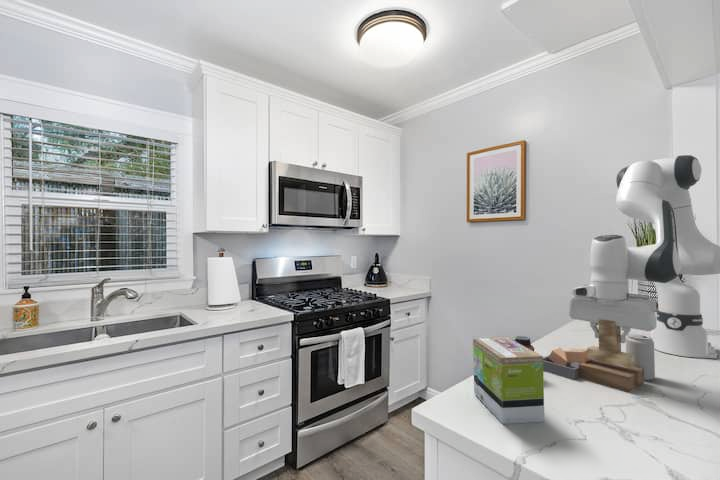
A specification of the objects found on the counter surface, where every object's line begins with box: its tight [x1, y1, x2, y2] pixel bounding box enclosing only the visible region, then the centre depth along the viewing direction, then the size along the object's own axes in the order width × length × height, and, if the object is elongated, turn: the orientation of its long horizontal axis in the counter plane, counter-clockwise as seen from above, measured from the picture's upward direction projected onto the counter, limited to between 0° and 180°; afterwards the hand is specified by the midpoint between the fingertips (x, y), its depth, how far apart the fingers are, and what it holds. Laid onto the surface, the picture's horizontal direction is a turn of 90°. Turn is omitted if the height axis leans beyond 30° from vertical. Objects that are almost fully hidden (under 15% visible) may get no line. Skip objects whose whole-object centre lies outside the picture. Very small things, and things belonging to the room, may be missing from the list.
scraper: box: [586, 319, 634, 368], centre depth 95 cm, size 10×4×12 cm, turn 35°
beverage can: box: [625, 333, 656, 382], centre depth 98 cm, size 6×6×12 cm
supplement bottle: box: [514, 335, 535, 352], centre depth 99 cm, size 6×6×11 cm
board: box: [578, 360, 645, 394], centre depth 95 cm, size 11×12×4 cm
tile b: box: [564, 348, 592, 363], centre depth 102 cm, size 5×5×3 cm
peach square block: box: [548, 347, 573, 367], centre depth 106 cm, size 5×5×3 cm
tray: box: [543, 354, 581, 381], centre depth 104 cm, size 16×10×3 cm, turn 125°
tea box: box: [472, 336, 545, 425], centre depth 80 cm, size 15×10×15 cm, turn 5°
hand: (609, 340), depth 95 cm, fingers closed on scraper, 4 cm apart
